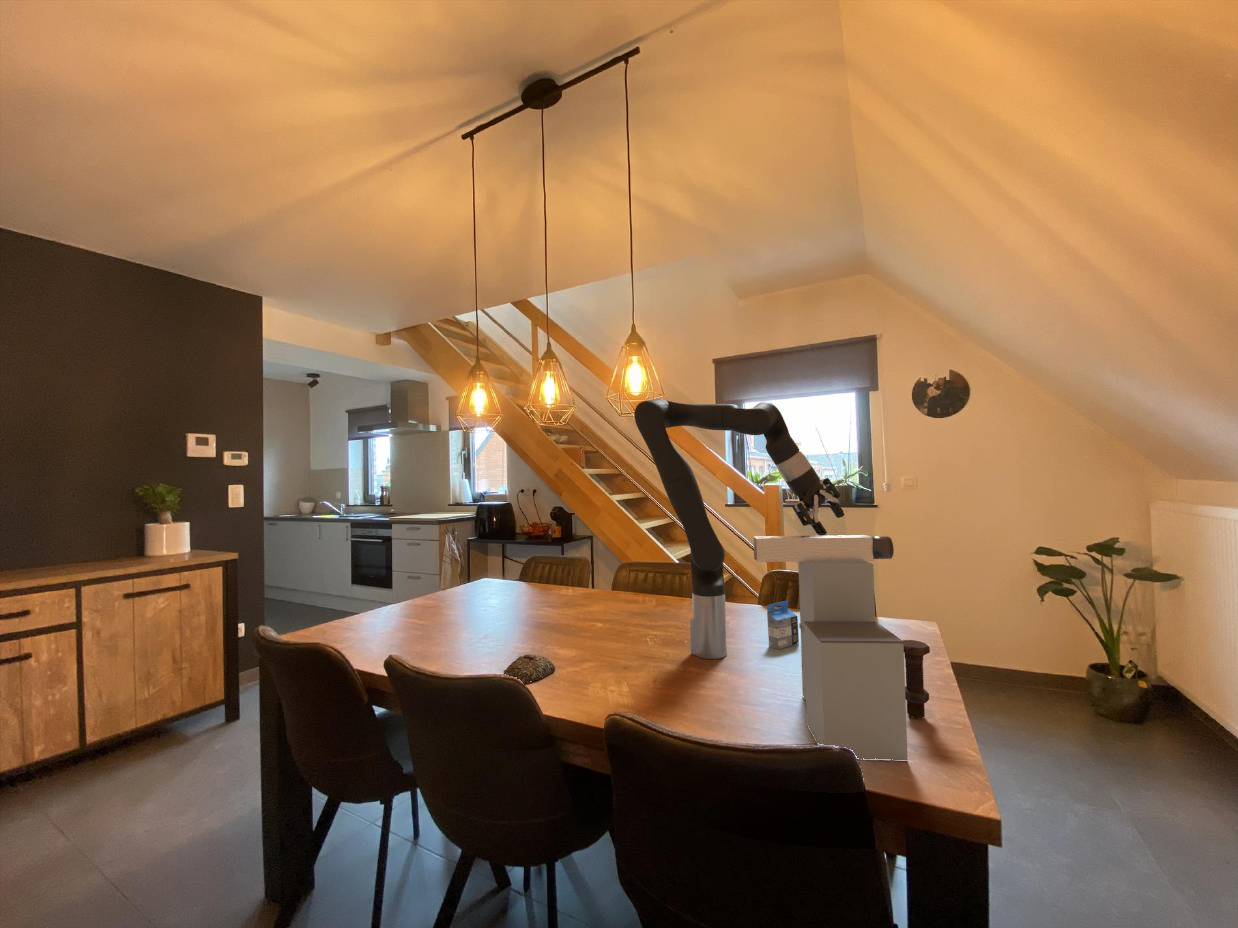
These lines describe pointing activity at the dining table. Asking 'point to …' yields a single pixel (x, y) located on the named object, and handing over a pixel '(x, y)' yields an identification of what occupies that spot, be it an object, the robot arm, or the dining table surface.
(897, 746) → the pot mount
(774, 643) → the label tape box
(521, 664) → the dark brown domed lump
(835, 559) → the knob shaft
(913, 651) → the bolt
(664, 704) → the dining table surface
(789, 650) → the dining table surface
